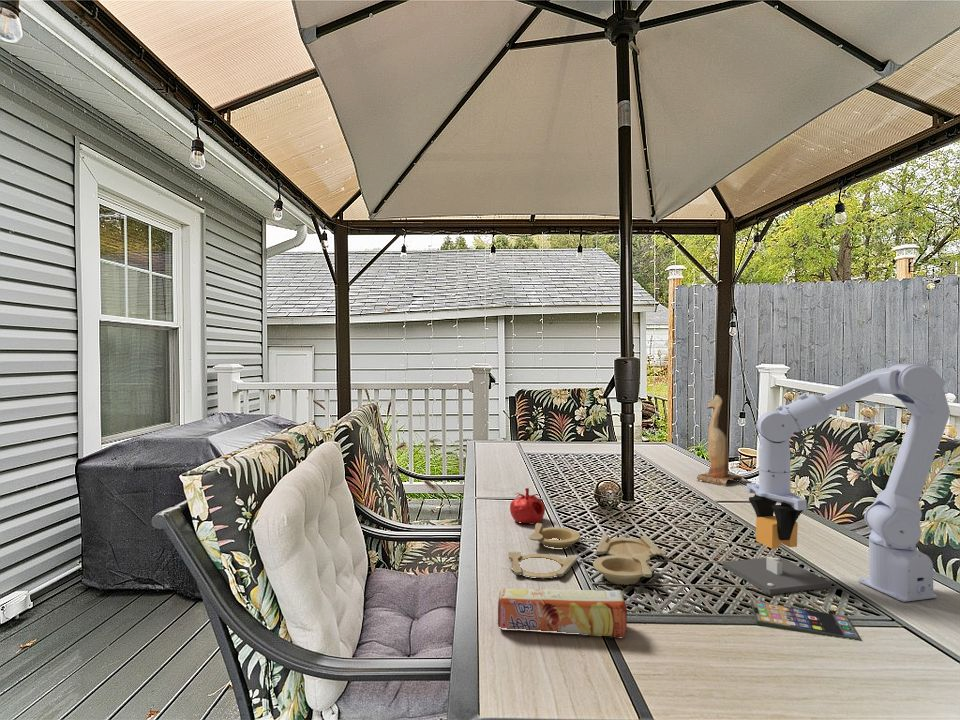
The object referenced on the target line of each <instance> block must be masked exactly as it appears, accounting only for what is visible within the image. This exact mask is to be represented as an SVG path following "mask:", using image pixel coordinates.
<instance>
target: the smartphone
mask: <svg viewBox="0 0 960 720" xmlns="http://www.w3.org/2000/svg"><path fill="white" fill-rule="evenodd" d="M750 605H751V609H752V613H753V616H754V619H755V624H756V625H757V626H761V627H766V626H767V627H768V628H774V629H779V630H781V629H782V630H786V629H787V630H788V631H793V632H794V631H795V632H800V633H807V634H813V635H820V636H825V635H827V637H832V636H835V637H834V638H839V637H843V638H842V639H845V638H849V639H848V640H852V639H855V640H854V641H858V640H859V642H862V637H861V636H860V635H859V633H858V632H857V630H856V628H855V627H854V625H853V624H852V622H851V620H850V619H849V617H848V616H846V615H845V616H844V615H840V614H834V613H828V612H827V613H826V612H821V611H816V610H811V609H809V610H808V609H803V608H798V607H790V606H785V605H779V604H772V603H766V602H761V601H755V600H751V601H750ZM767 627H766V628H767Z"/></svg>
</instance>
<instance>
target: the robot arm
mask: <svg viewBox="0 0 960 720" xmlns="http://www.w3.org/2000/svg"><path fill="white" fill-rule="evenodd" d="M945 383H946V382H945V380H944V379H943V377H942V376H941V375H940V374H939V373H938V372H937V371H936V370H935V369H934V368H933V367H931V366H929V365H927V364H922V363H914V364H912V363H911V364H910V363H909V364H906V363H901V362H898V363H897V362H896V363H892V364H890V365H888V366H886V367H883V368H881V367H880V368H877V369H874V370H873V371H870V372H868V373H865V374H864V375H862V376H860V377H858V378H856V379H854V380H852V381H850V382H848V383H846V384H844V385H842V386H840V387H838V388H836V389H834V390H832V391H830V392H828V393H826V394H823V395H818V394H814V393H810V394H808V395H807V394H806V393H802V394H800V395H798V396H797V398H798V399H796V400H795V401H792V402H790V403H788V404H786V405H784V406H782V405H778V406H776V407H775V410H776V411H766V412H764V413H762V414H761V415H760V416H759V418H758V419H757V421H756V424H755V428H756V431H757V432H758V434H759V440H758V443H759V447H758V479H759V481H758V483H755V482H750V483H746V493H749V494H754V495H753V496H749V497H748V501H749V503H750V504H751V506H752V508H753V511H754V512H755V516H756V517H768V516H775V517H776V521H777V530H778V537H779V539H780V540H790V538H791V534H792V530H793V527H794V525H795V522H797V520H798V519H799V518H800V515H801V514H802V513H803V512H804V511H805V510H807V505H808V504H807V503H808V502H807V499H804V498H802V497H800V496H798V495H796V494H795V493H793V492H792V491H791V489H792V488H791V487H792V486H791V449H790V439H791V438H792V437H793V435H794V433H799V432H802V431H803V430H806V429H808V428H810V427H813V426H815V425H817V424H819V423H822V422H824V421H826V420H827V421H828V420H829V417H830V415H831V412H832V411H833V410H835V409H837V408H840V407H843V406H845V405H848V404H851V403H853V402H856V401H858V400H861V399H863V398H867V397H869V396H871V395H874V394H877V395H878V394H881V395H892V396H894V397H895V398H897V399H898V400H900V402H901V403H902V404H903V405H904V407H905V408H906V409H907V410H908V411H909V414H911V415H910V418H909V422H908V423H907V424H908V425H907V428H906V430H905V432H904V436H903V439H902V441H901V444H900V447H899V450H898V452H897V455H896V458H895V461H894V464H893V467H892V469H891V472H890V475H889V477H888V481H887V482H886V483H887V484H886V486H885V489H883V490H882V491H881V492H880V493H878V494H877V495H876V498H875V500H874V502H873V503H872V504H871V505H870V506H868V507H867V509H866V510H865V511H864V521H865V524H866V525H867V527H868V528H869V529H870V530H871V531H870V534H869V536H868V560H869V561H868V562H869V563H868V565H869V567H868V569H869V571H868V572H869V573H868V574H869V575H868V576H869V577H862V578H858V579H857V581H858V582H859V583H861V584H864V585H866V586H867V587H870V588H872V589H874V590H876V591H878V592H881V593H883V594H884V595H887V596H889V597H891V598H894V599H896V600H899V601H901V602H906V603H907V602H911V601H920V600H929V599H936V598H937V597H938V595H937V594H935V593H934V565H933V561H932V560H931V558H930V556H929V555H928V554H925V553H923V552H922V551H920V550H919V549H918V548H917V544H918V543H919V542H920V540H921V537H922V529H921V519H922V517H923V516H922V515H923V513H922V510H921V506H920V503H919V500H920V498H921V495H922V492H923V490H924V486H925V485H926V481H927V478H928V475H929V473H930V471H931V468H932V464H933V463H934V459H935V458H936V457H935V456H936V454H937V452H938V448H939V445H940V443H941V440H942V437H943V435H944V432H945V430H946V427H947V423H948V421H949V419H950V414H951V410H950V407H949V403H948V399H947V397H946V392H945V389H944V387H945ZM777 502H778V503H780V504H777Z"/></svg>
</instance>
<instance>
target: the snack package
mask: <svg viewBox="0 0 960 720" xmlns="http://www.w3.org/2000/svg"><path fill="white" fill-rule="evenodd" d="M627 615H628V614H627V605H626V601H625V598H624V596H623V593H622V592H621V591H620V590H616V589H615V590H595V589H593V590H592V589H549V588H548V589H545V588H543V589H542V588H541V589H540V588H522V589H519V588H509V587H508V588H507V587H504V588H501V590H500V592H499V596H498V603H497V625H498V628H499V627H501V628H507V629H526V630H541V631H557V632H566V633H579V634H588V635H601V636H613V637H624V638H625V637H626V632H627V628H628V626H627V624H628V620H627V619H628V616H627ZM601 636H600V637H601ZM613 637H612V638H613Z"/></svg>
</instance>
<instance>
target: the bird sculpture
mask: <svg viewBox="0 0 960 720" xmlns="http://www.w3.org/2000/svg"><path fill="white" fill-rule="evenodd" d="M723 402H724V401H723V398H722V397H721V395H719V394H715V395H714V397H713V399H711V400H710V401H708V402H707V405H706V408H707V409H713V412H712V414H711V416H710V417H711V418H710V421H709V423H708V431H707V455H708V460H709V463H711V464H710V466H709V469H708V472H705V473H701V474H698V475H697V476H696V480H697V479H698V480H702V481H706V482H710V483H709V484H712V483H713V485H716V484H717V485H718V486H721V485H724V486H723V487H726V486H727V482H728V480H729V481H730V479H731V480H733V481H734V480H735V481H738V482H741V481H742V480H743V477H742V476H741V475H734V474H729V442H728V438H727V435H726V434H725V432H724V431H723V430H722V429H721V428H720V427H719V420H720V413H721V410H722V407H723V404H724V403H723ZM702 481H701V482H702ZM706 482H705V483H706Z"/></svg>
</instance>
